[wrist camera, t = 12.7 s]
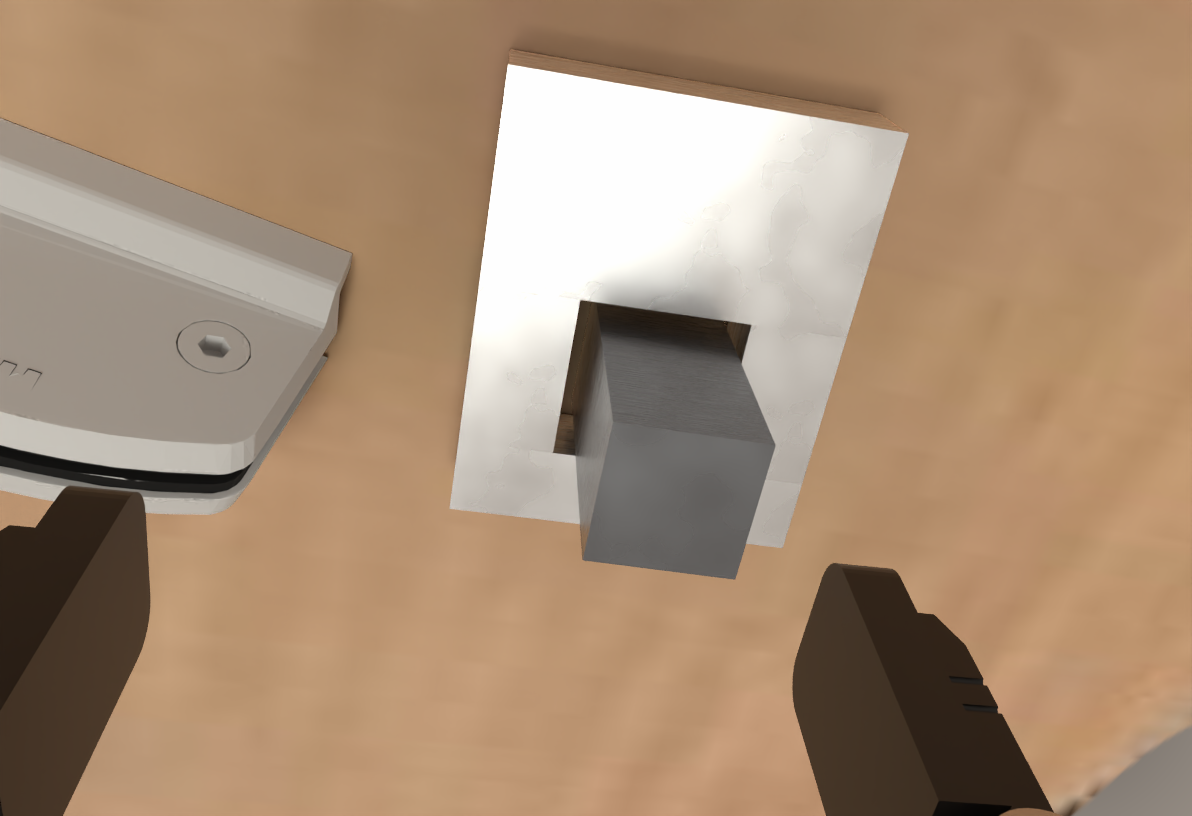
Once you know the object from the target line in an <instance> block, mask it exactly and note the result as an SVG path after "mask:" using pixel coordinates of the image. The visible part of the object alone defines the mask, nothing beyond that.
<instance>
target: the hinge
mask: <svg viewBox="0 0 1192 816" xmlns="http://www.w3.org/2000/svg"><path fill="white" fill-rule="evenodd" d="M351 260H352V253H350V252H347V251H345V250H342V249H339V248H337V247H334V246H332V245H329V244H326V243H324V242H321V241H319V240H316V239H313V238H311V237H308V236H306V235H303V234H300V233H298V232H295V231H293V230H290V229H287V228H285V227H282V226H280V225H277V224H274V223H272V222H269V221H267V220H264V219H261V218H259V217H256V216H254V215H251V214H248V213H246V212H243V211H241V210H238V209H235V208H233V207H230V206H228V205H225V204H222V203H220V202H217V201H215V200H212V199H209V198H207V197H204V196H202V195H199V194H196V193H194V192H191V191H189V190H186V189H183V188H181V187H178V186H176V185H173V184H170V183H168V182H165V181H163V180H160V179H157V178H155V177H152V176H150V175H147V174H144V173H142V172H139V171H137V170H134V169H131V168H129V167H126V166H124V165H121V164H118V163H116V162H113V161H111V160H108V159H105V158H103V157H100V156H98V155H95V154H92V153H90V152H87V151H85V150H82V149H79V148H77V147H74V146H72V145H69V144H66V143H64V142H61V141H59V140H56V139H53V138H51V137H48V136H46V135H43V134H40V133H38V132H35V131H33V130H30V129H27V128H25V127H22V126H20V125H17V124H14V123H12V122H9V121H7V120H4V119H1V118H0V490H2V491H7V492H11V493H16V494H21V495H25V496H30V497H34V498H39V499H44V500H50V501H55V500H56V498H57V497H58V495H59V494H60V493H61V491H62V490H63V489H64V488H66V487H67V486H70V485H71V486H81V487H92V488H102V489H112V490H122V491H132V492H139V493H140V494H141V495H142V497H143V500H144V504H145V512H146V513H158V514H206V515H211V514H215V513H218V512H222V511H224V510H226V509H228V508H229V507H230V506H231V505H232V504H233V503H234V502H235V501H236V500H237V499H238V497H239V496H240V495H241V493H242V492H243V491H244V489H245V488H246V487H247V485H248V484H249V483H250V481H251V480H252V478H253V477H254V475H255V473H256V472H257V470H258V469H259V467H260V465H261V464H262V462H263V461H264V459H265V457H266V456H267V454H268V453H269V451H270V450H271V448H272V446H273V445H274V443H275V442H276V440H277V438H278V437H279V435H280V434H281V432H282V430H283V429H284V427H285V426H286V424H287V423H288V421H289V419H290V418H291V416H292V415H293V413H294V411H295V410H296V408H297V407H298V405H299V403H300V402H301V400H302V399H303V397H304V395H305V394H306V392H307V391H308V389H309V388H310V386H311V384H312V383H313V381H314V380H315V378H316V376H317V375H318V373H319V372H320V370H321V368H322V367H323V365H324V364H325V362H326V361H327V359H328V358H327V357H324V356H322V355H323V353H324V352H325V350H326V349H327V347H328V346H329V344H330V342H331V341H332V339H333V338H334V336H335V335H336V333H337V324H338V310H339V297H340V291H341V289H342V286H343V284H344V282H345V279H346V277H347V274H348V272H349V269H350V267H351Z"/></svg>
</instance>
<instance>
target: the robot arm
mask: <svg viewBox="0 0 1192 816" xmlns="http://www.w3.org/2000/svg"><path fill="white" fill-rule="evenodd" d="M149 614H150V583H149V565H148V548H147V530H146V512H145V504H144V500H143V497H142V495H141V494H140V493H139V492H132V491H122V490H112V489H102V488H92V487H81V486H71V485H70V486H67V487H66V488H64V489H63V490H62V491H61V493H60V494H59V495H58V497H57V498H56V500H55V501H54V502H53V504H52V505H51V507H50V508H49V509H48V511H47V512H46V514H45V515H44V516H43V518H42V519H41V521H40V522H39V523H38V525H37V526H36V528H33V527H22V526H12V525H9V526H7V527H6V528H4V529H3V530H1V531H0V816H63V814H64V812H65V810H66V808H67V806H68V804H69V802H70V800H71V797H72V795H73V793H74V791H75V789H76V787H77V785H78V783H79V781H80V779H81V777H82V774H83V772H84V770H85V768H86V766H87V764H88V762H89V760H90V758H91V756H92V754H93V751H94V749H95V747H96V745H97V743H98V741H99V739H100V737H101V735H102V733H103V730H104V728H105V726H106V724H107V722H108V720H109V718H110V716H111V714H112V712H113V710H114V707H115V705H116V703H117V701H118V699H119V697H120V695H121V693H122V691H123V689H124V686H125V684H126V682H127V680H128V678H129V676H130V674H131V672H132V670H133V668H134V666H135V663H136V661H137V659H138V657H139V655H140V652H141V650H142V647H143V644H144V640H145V637H146V632H147V627H148V622H149ZM793 702H794V708H795V712H796V715H797V719H798V722H799V726H800V729H801V732H802V736H803V739H804V742H805V746H806V749H807V753H808V756H809V759H810V763H811V766H812V769H813V773H814V776H815V780H816V783H817V786H818V790H819V793H820V796H821V800H822V803H823V807H824V810H825V813H826V816H1061V815H1059V814H1056V813H1054V812H1053V810H1052V808H1051V806H1050V804H1049V802H1048V800H1047V798H1046V796H1045V795H1044V793H1043V791H1042V789H1041V787H1040V785H1039V783H1038V781H1037V779H1036V778H1035V776H1034V774H1033V772H1032V770H1031V768H1030V766H1029V764H1028V762H1027V761H1026V759H1025V757H1024V755H1023V753H1022V751H1021V749H1020V747H1019V745H1018V743H1017V742H1016V740H1015V738H1014V736H1013V734H1012V732H1011V730H1010V728H1009V726H1008V725H1007V723H1006V721H1005V719H1004V717H1003V715H1002V714H998V711H997V709H998V706H997V704H996V702H995V700H994V698H993V696H992V694H991V692H990V691H989V689H988V687H987V686H985V685H983V677H982V675H981V674H980V672H979V670H978V668H977V666H976V664H975V662H974V660H973V658H972V656H971V655H970V653H969V651H968V649H967V647H966V645H965V644H964V643H963V642H962V641H961V640H960V639H959V638H958V637H957V636H955V635H954V634H953V633H952V632H951V631H950V630H949V629H948V628H947V627H946V626H945V625H944V624H943V623H942V622H941V621H940V620H939V619H938V618H937V617H936V616H935V615H934V614H924V613H917V611H916V609H915V607H914V604H913V602H912V600H911V598H910V596H909V594H908V592H907V590H906V588H905V586H904V584H903V582H902V580H901V578H900V576H899V575H898V573H897V572H896V571H895V570H893V569H888V568H878V567H868V566H858V565H848V564H838V563H833V564H831V565H830V566H828V568H827V569H826V571H825V573H824V575H823V577H822V580H821V583H820V586H819V589H818V592H817V595H816V598H815V601H814V604H813V608H812V611H811V614H810V617H809V620H808V623H807V626H806V629H805V632H804V635H803V638H802V641H801V644H800V647H799V650H798V653H797V656H796V660H795V665H794V671H793Z"/></svg>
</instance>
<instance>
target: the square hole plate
mask: <svg viewBox="0 0 1192 816" xmlns="http://www.w3.org/2000/svg"><path fill="white" fill-rule="evenodd" d="M908 135H909V133H907V132H906V131H905V130H903V129H902V128H900V127H899V126H897V125H896V124H894V123H893V122H891V121H890V120H889V119H887V118H886V117H884V116H883V115H881V114H880V113H876V112H870V111H864V110H859V109H853V108H847V107H841V106H836V105H830V104H824V103H819V102H813V101H807V100H801V99H796V98H790V97H784V96H778V95H773V94H767V93H761V92H755V91H750V90H744V89H738V88H732V87H727V86H721V85H715V84H709V83H704V82H698V81H692V80H686V79H681V78H675V77H669V76H663V75H658V74H652V73H646V72H640V71H635V70H629V69H623V68H617V67H612V66H606V65H600V64H594V63H589V62H583V61H577V60H571V59H566V58H560V57H554V56H548V55H543V54H537V53H531V52H525V51H520V50H514V49H510V55H509V62H508V70H507V77H506V85H505V92H504V100H503V107H502V115H501V123H500V130H499V138H498V145H497V153H496V161H495V168H494V176H493V183H492V191H491V199H490V206H489V214H488V221H487V229H486V236H485V244H484V252H483V259H482V267H481V274H480V282H479V290H478V297H477V305H476V312H475V320H474V328H473V335H472V343H471V350H470V358H469V366H468V373H467V381H466V388H465V396H464V403H463V411H462V419H461V426H460V434H459V441H458V449H457V457H456V464H455V472H454V479H453V487H452V495H451V502H450V509H457V510H466V511H474V512H483V513H491V514H500V515H508V516H516V517H525V518H533V519H542V520H550V521H559V522H567V523H576V524H580V516H579V502H578V487H577V472H576V458H575V443H574V428H573V415H567V414H560V411H561V405H562V399H563V394H564V388H565V383H566V377H567V371H568V366H569V360H570V355H571V349H572V343H573V338H574V332H575V327H576V321H577V315H578V310H579V304H580V300H585V301H592V302H599V303H606V304H613V305H620V306H626V307H633V308H640V309H647V310H654V311H661V312H668V313H675V314H682V315H688V316H695V317H702V318H709V319H716V320H723V321H728V325H727V331H728V333H729V336H730V338H731V340H732V343H733V345H734V347H735V350H736V352H737V355H738V357H739V359H740V362H741V364H742V366H743V369H744V371H745V374H746V376H747V378H748V381H749V383H750V385H751V388H752V390H753V393H754V395H755V397H756V400H757V402H758V404H759V407H760V409H761V412H762V414H763V416H764V419H765V421H766V423H767V426H768V428H769V431H770V433H771V435H772V438H773V440H774V442H775V445H776V446H775V450H774V453H773V456H772V459H771V463H770V466H769V469H768V473H767V476H766V479H765V483H764V486H763V489H762V492H761V496H760V499H759V502H758V506H757V509H756V512H755V515H754V519H753V522H752V525H751V529H750V532H749V535H748V539H747V542H746V544H753V545H762V546H770V547H779V548H783V545H784V542H785V538H786V535H787V532H788V528H789V525H790V522H791V519H792V515H793V512H794V509H795V505H796V502H797V499H798V496H799V492H800V489H801V486H802V482H803V479H804V476H805V473H806V469H807V466H808V463H809V459H810V456H811V453H812V450H813V446H814V443H815V440H816V436H817V433H818V430H819V427H820V423H821V420H822V417H823V414H824V410H825V407H826V404H827V400H828V397H829V394H830V391H831V387H832V384H833V381H834V377H835V374H836V371H837V368H838V364H839V361H840V358H841V354H842V351H843V348H844V345H845V341H846V338H847V335H848V331H849V328H850V325H851V322H852V318H853V315H854V312H855V309H856V305H857V302H858V299H859V295H860V292H861V289H862V286H863V282H864V279H865V276H866V272H867V269H868V266H869V263H870V259H871V256H872V253H873V249H874V246H875V243H876V240H877V236H878V233H879V230H880V226H881V223H882V220H883V217H884V213H885V210H886V207H887V203H888V200H889V197H890V194H891V190H892V187H893V184H894V181H895V177H896V174H897V171H898V167H899V164H900V161H901V158H902V154H903V151H904V148H905V144H906V141H907V138H908Z"/></svg>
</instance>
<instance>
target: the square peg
mask: <svg viewBox="0 0 1192 816" xmlns="http://www.w3.org/2000/svg"><path fill="white" fill-rule="evenodd" d="M572 413H573V428H574V443H575V458H576V472H577V487H578V502H579V516H580V531H581V546H582V560H585V561H593V562H601V563H609V564H617V565H625V566H632V567H640V568H648V569H656V570H664V571H672V572H680V573H688V574H696V575H704V576H711V577H719V578H727V579H735V578H736V575H737V572H738V568H739V565H740V562H741V558H742V555H743V552H744V548H745V545H746V542H747V539H748V535H749V532H750V529H751V525H752V522H753V519H754V515H755V512H756V509H757V506H758V502H759V499H760V496H761V492H762V489H763V486H764V483H765V479H766V476H767V473H768V469H769V466H770V463H771V459H772V456H773V453H774V450H775V446H776V445H775V442H774V440H773V438H772V435H771V433H770V431H769V428H768V426H767V423H766V421H765V419H764V416H763V414H762V412H761V409H760V407H759V404H758V402H757V400H756V397H755V395H754V393H753V390H752V388H751V385H750V383H749V381H748V378H747V376H746V374H745V371H744V369H743V366H742V364H741V362H740V359H739V357H738V355H737V352H736V350H735V347H734V345H733V343H732V340H731V338H730V336H729V333H728V331H727V328H726V326H725V324H724V321H723V320H716V319H709V318H702V317H695V316H688V315H682V314H675V313H668V312H661V311H654V310H647V309H640V308H633V307H626V306H620V305H613V304H606V303H599V302H592V301H591V305H590V310H589V315H588V320H587V325H586V330H585V335H584V340H583V345H582V350H581V355H580V360H579V365H578V370H577V375H576V380H575V385H574V390H573V395H572Z"/></svg>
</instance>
